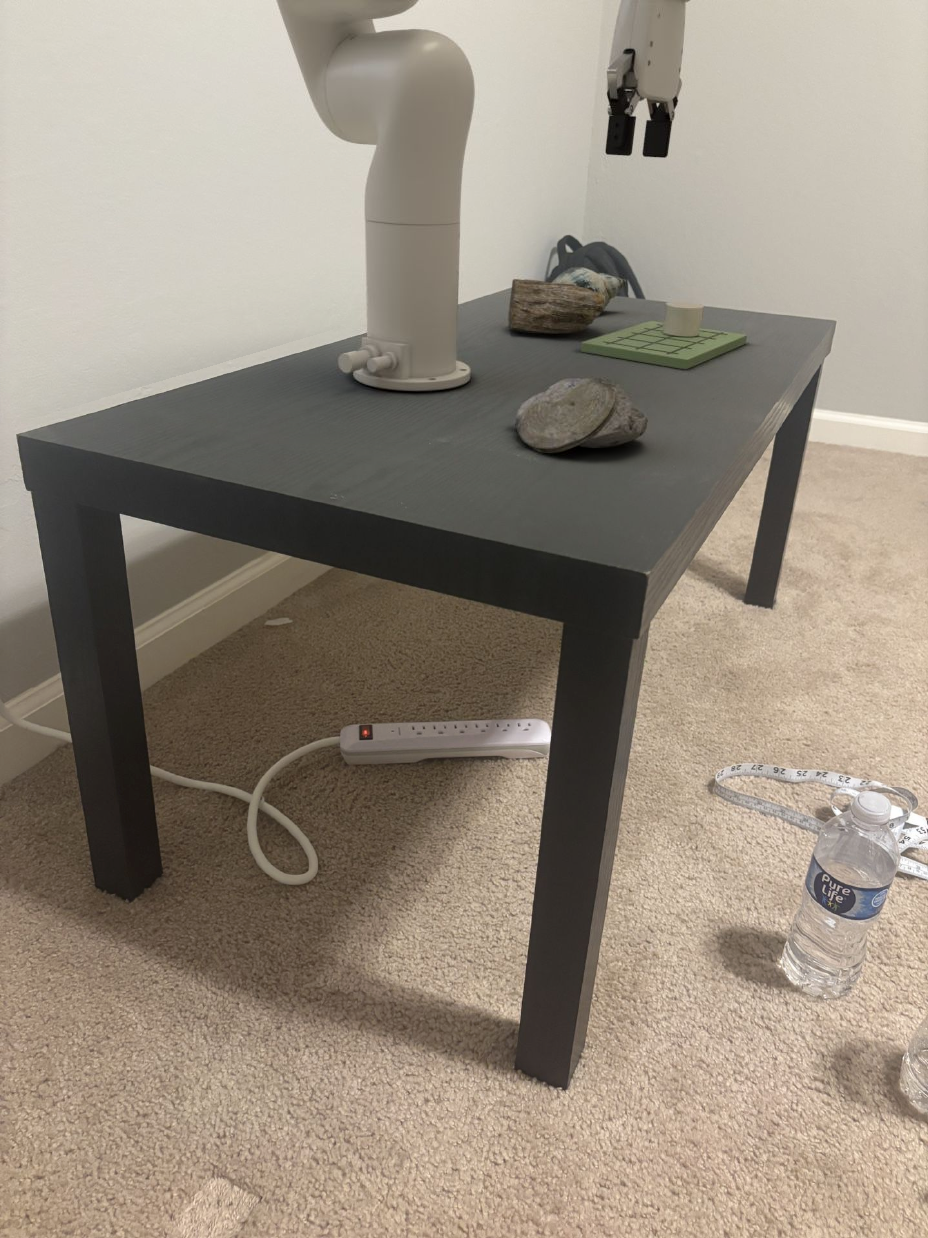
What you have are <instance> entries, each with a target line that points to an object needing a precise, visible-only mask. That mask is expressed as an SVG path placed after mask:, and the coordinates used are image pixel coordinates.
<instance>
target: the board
mask: <svg viewBox="0 0 928 1238" xmlns="http://www.w3.org/2000/svg"><path fill="white" fill-rule="evenodd" d="M663 323H664V322H661V321H653V320H649V321H645V322H641V323H639V324H636V325H633V326H630V327H626V328H622V329H619V330H617V331H613V332H610V333H607V334H604V335H599V336H597V337H594V338H590V339H588V340H584V341H582V342H581V345H580V352H581V353H586V354H591V355H598V356H602V357H609V358H615V359H619V360H620V359H621V360H627V361H632V362H638V363H643V364H644V363H645V364H650V365H656V366H661V367H662V366H663V367H668V368H672V369H679V370H689V369H691V368H694V367H695V366H698V365H700V364H703V363H705V362H707V361H710V360H711V359H714V358H716V357H719V356H721V355H723V354H726V353H728V352H731V351H732V350H734V349H738V348H739V347H742V346H744V345H746V343H747V337H748V335H747V334H743V333H736V332H729V331H723V330H715V329H711V328H702V327H701V328H700V334H699V335H698V336H693V337H681V336H672V335H668V334H665V333H663V332H662V330H663Z"/></svg>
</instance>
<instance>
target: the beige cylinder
mask: <svg viewBox="0 0 928 1238" xmlns="http://www.w3.org/2000/svg"><path fill="white" fill-rule="evenodd" d="M704 308H705V306H704V305H703V304H702V303H697V302H692V301H668V302H666V303H665V308H664V316H663V322H662V323H663V330H662V332H663V333H665V334H668V335H672V336H681V337H693V336H698V335H699V334H700V328H702V321H703V314H704Z"/></svg>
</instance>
